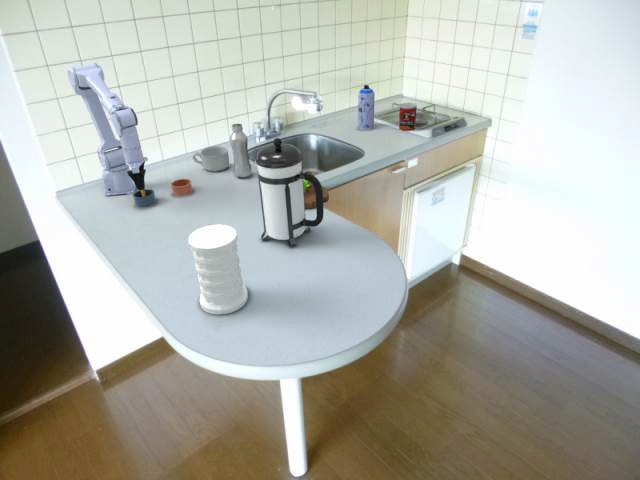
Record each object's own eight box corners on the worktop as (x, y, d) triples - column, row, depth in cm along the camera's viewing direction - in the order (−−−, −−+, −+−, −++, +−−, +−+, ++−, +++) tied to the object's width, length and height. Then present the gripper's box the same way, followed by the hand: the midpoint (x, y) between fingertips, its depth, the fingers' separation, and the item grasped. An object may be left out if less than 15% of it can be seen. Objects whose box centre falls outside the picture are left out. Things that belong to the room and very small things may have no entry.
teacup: (233, 164, 190) (231, 145, 186) (226, 174, 181) (223, 155, 177) (200, 164, 192) (197, 145, 188) (192, 174, 183) (188, 155, 178)
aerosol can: (355, 126, 226) (355, 84, 215) (370, 124, 227) (371, 82, 217) (361, 131, 219) (361, 88, 209) (376, 129, 221) (377, 86, 211)
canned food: (397, 130, 218) (398, 107, 213) (400, 125, 225) (401, 102, 219) (414, 131, 216) (415, 107, 211) (416, 126, 223) (417, 103, 217)
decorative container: (250, 283, 119) (241, 222, 110) (245, 313, 109) (235, 248, 100) (204, 286, 119) (192, 224, 110) (196, 315, 109) (181, 251, 100)
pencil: (143, 203, 161) (138, 182, 157) (144, 201, 162) (138, 180, 158) (147, 203, 161) (142, 181, 157) (148, 201, 162) (142, 180, 158)
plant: (262, 192, 166) (259, 162, 160) (314, 182, 172) (312, 153, 166) (278, 216, 150) (275, 184, 144) (334, 204, 156) (333, 173, 150)
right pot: (172, 198, 165) (169, 187, 163) (174, 190, 171) (172, 179, 169) (192, 196, 166) (190, 185, 164) (193, 188, 172) (191, 178, 170)
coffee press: (266, 254, 131) (254, 152, 115) (257, 227, 144) (245, 133, 128) (325, 243, 134) (321, 143, 119) (311, 218, 148) (306, 125, 132)
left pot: (134, 209, 158) (131, 198, 156) (137, 200, 164) (134, 190, 162) (155, 207, 159) (152, 196, 157) (158, 198, 165) (155, 188, 163)
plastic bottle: (249, 179, 176) (242, 128, 166) (232, 179, 177) (224, 127, 167) (254, 173, 181) (248, 122, 171) (238, 172, 183) (231, 122, 172)
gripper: (144, 152, 146) (154, 191, 153) (143, 138, 158) (152, 175, 165) (120, 155, 144) (131, 195, 152) (122, 141, 156) (132, 178, 163)
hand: (141, 185), depth 158 cm, fingers open, 7 cm apart
